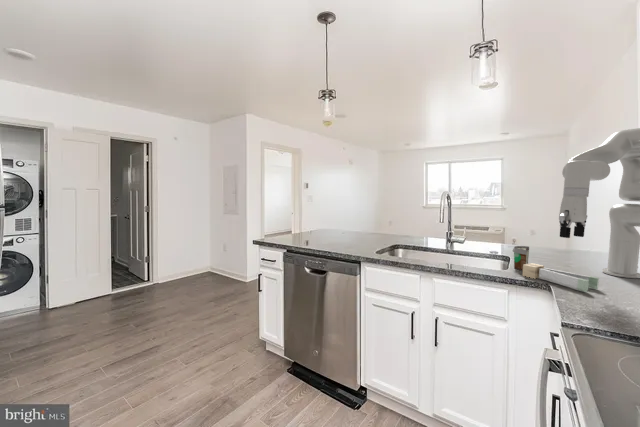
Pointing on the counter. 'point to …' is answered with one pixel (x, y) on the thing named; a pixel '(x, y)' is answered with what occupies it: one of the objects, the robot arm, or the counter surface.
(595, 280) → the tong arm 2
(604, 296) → the counter surface
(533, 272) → the hinge block
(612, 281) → the counter surface
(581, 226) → the robot arm
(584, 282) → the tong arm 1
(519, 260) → the food container
